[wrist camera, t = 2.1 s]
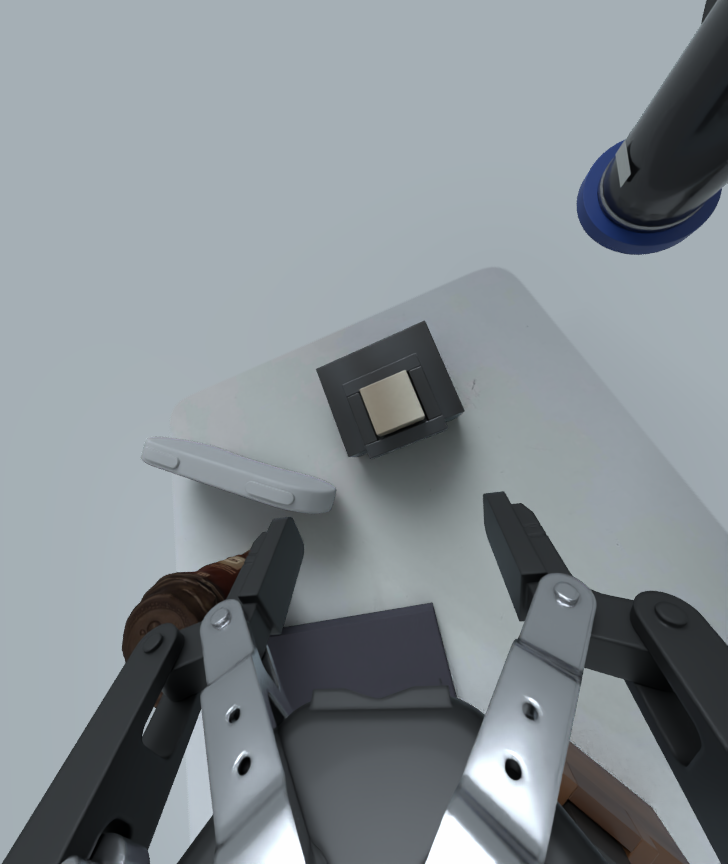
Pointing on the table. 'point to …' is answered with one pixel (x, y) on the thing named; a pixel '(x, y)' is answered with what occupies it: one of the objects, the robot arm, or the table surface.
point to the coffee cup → (181, 600)
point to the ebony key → (597, 836)
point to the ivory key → (392, 403)
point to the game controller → (240, 475)
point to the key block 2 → (617, 811)
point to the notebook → (362, 654)
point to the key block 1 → (377, 363)
